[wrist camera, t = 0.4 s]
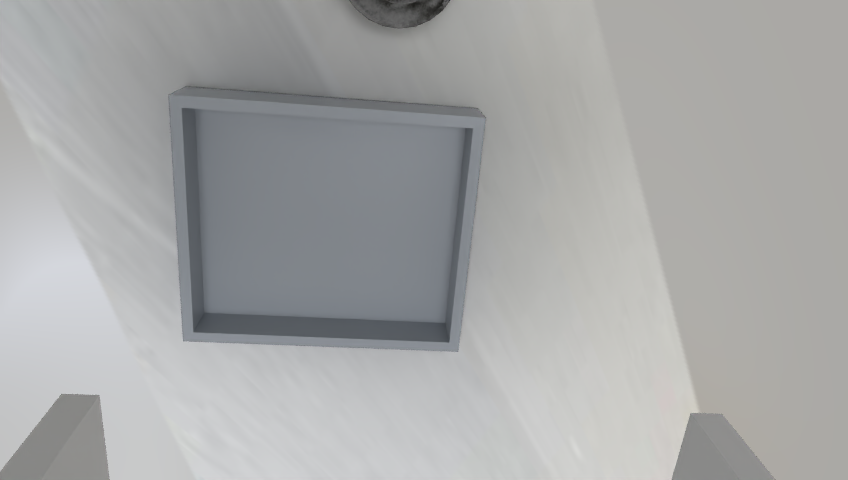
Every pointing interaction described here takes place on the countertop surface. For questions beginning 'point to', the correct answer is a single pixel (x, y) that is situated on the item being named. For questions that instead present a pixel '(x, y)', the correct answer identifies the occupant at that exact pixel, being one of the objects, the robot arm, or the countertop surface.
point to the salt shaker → (400, 11)
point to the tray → (323, 218)
